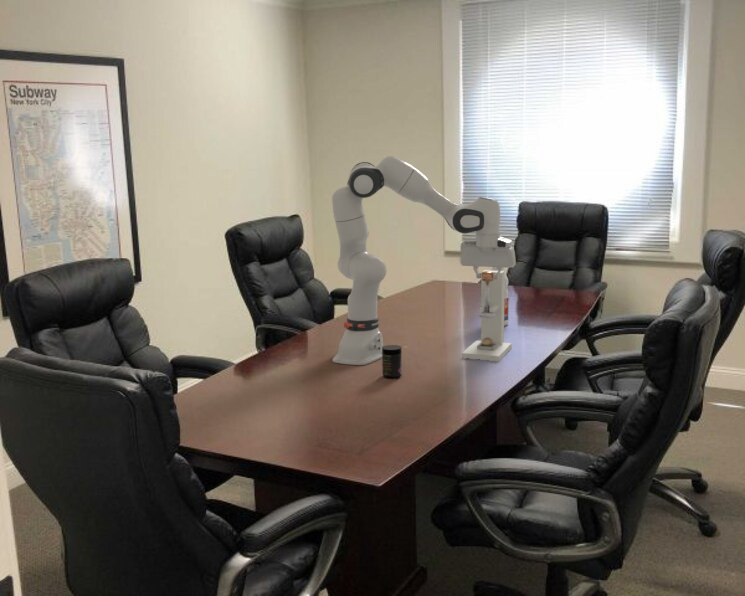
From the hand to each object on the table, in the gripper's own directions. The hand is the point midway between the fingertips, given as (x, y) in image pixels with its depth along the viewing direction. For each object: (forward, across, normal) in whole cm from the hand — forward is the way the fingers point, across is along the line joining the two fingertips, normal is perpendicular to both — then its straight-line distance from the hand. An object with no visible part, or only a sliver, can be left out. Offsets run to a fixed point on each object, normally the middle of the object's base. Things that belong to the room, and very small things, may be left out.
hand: (487, 278), depth 297 cm
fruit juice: (+29, -8, +48) cm, 57 cm away
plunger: (+14, 0, 0) cm, 14 cm away
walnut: (+25, 0, 0) cm, 25 cm away
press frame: (+29, 0, 0) cm, 29 cm away
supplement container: (+29, -23, -40) cm, 54 cm away
